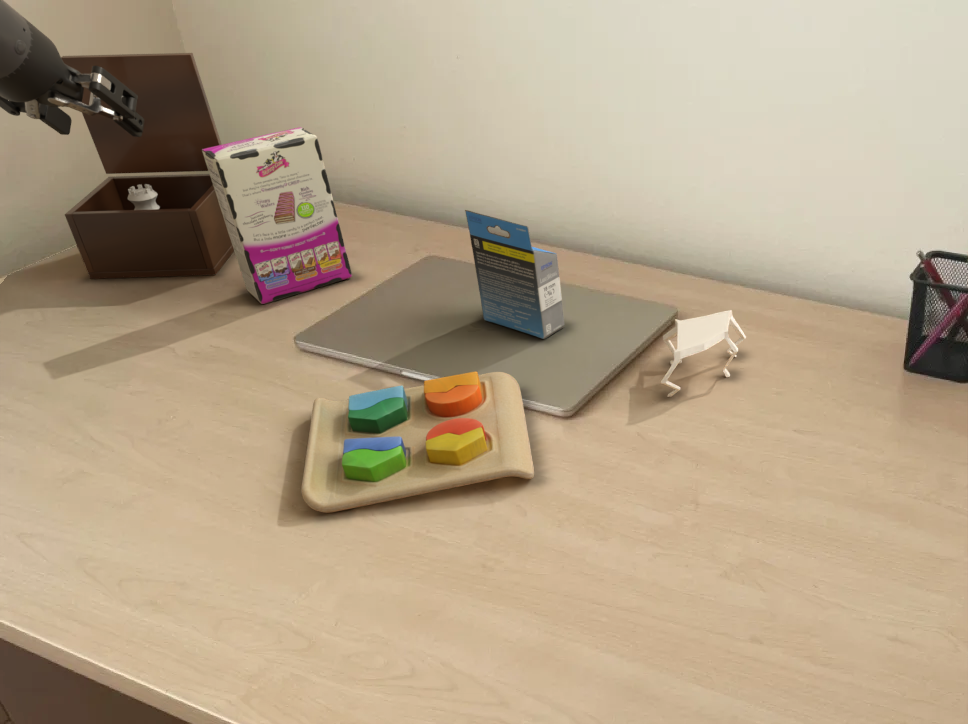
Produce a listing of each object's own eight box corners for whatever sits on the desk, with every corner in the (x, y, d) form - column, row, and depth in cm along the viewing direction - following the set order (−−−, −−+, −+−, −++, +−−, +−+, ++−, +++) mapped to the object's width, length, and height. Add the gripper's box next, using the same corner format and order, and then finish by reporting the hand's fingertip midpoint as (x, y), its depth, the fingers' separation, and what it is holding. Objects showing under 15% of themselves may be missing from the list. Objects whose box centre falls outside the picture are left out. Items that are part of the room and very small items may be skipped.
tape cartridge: (567, 326, 114) (555, 214, 106) (543, 341, 111) (529, 227, 103) (505, 307, 117) (489, 197, 110) (481, 320, 115) (463, 209, 107)
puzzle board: (319, 411, 100) (310, 379, 98) (520, 387, 103) (515, 355, 101) (304, 518, 87) (294, 483, 85) (536, 486, 90) (531, 452, 88)
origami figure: (672, 344, 110) (670, 300, 107) (750, 353, 108) (750, 309, 105) (635, 401, 101) (632, 355, 98) (720, 412, 99) (719, 366, 96)
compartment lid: (190, 54, 121) (203, 41, 125) (59, 57, 120) (77, 44, 124) (227, 170, 130) (239, 154, 133) (106, 174, 129) (121, 158, 133)
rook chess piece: (190, 250, 129) (168, 185, 124) (158, 263, 126) (134, 197, 121) (166, 243, 131) (144, 179, 126) (134, 256, 128) (110, 190, 123)
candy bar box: (336, 265, 127) (301, 124, 117) (354, 278, 124) (320, 135, 114) (243, 292, 121) (198, 146, 111) (260, 306, 118) (215, 158, 108)
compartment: (215, 275, 125) (195, 210, 120) (90, 279, 125) (64, 214, 120) (247, 234, 135) (229, 173, 130) (131, 237, 135) (108, 176, 130)
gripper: (67, 6, 101) (169, 98, 117) (-71, 3, 102) (48, 94, 118) (55, 80, 100) (159, 162, 116) (-84, 76, 101) (38, 158, 117)
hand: (103, 128), depth 117 cm, fingers open, 8 cm apart
